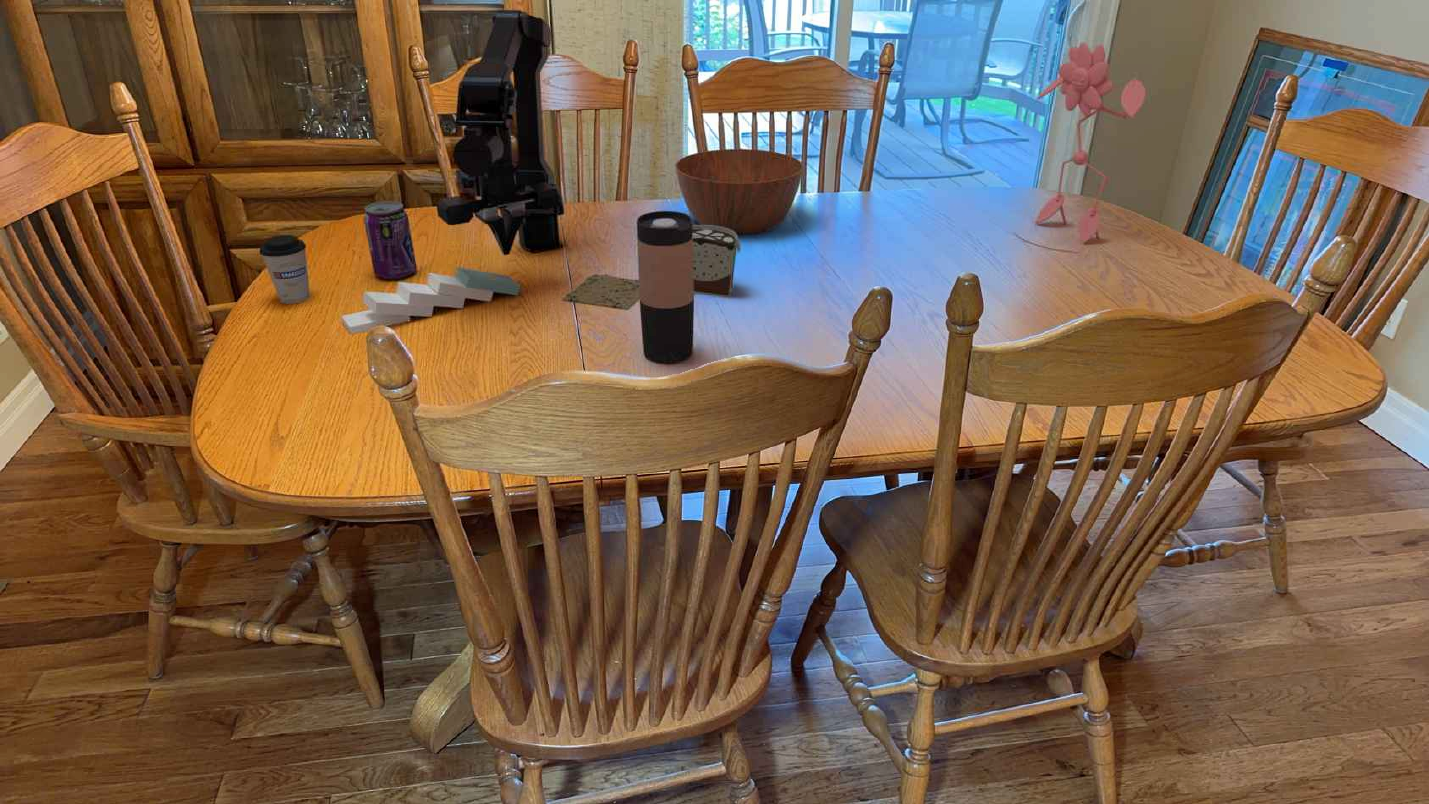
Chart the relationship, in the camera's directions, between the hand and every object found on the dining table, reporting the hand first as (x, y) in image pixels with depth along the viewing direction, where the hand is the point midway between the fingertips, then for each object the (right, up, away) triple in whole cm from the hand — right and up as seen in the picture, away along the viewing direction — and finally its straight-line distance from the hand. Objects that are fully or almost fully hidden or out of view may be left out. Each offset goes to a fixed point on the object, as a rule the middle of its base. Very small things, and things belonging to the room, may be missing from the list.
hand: (506, 254), depth 150 cm
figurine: (+99, +8, +27) cm, 103 cm away
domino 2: (-12, -9, -4) cm, 15 cm away
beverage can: (-21, -2, +10) cm, 24 cm away
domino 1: (-15, -10, -5) cm, 19 cm away
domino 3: (-8, -7, -1) cm, 11 cm away
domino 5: (0, -5, +3) cm, 6 cm away
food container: (+33, -5, +5) cm, 34 cm away
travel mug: (+27, -17, -17) cm, 36 cm away
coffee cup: (-35, -7, +1) cm, 36 cm away
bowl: (+39, +12, +35) cm, 53 cm away
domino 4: (-4, -6, +1) cm, 7 cm away
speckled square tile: (+17, -6, +3) cm, 18 cm away
